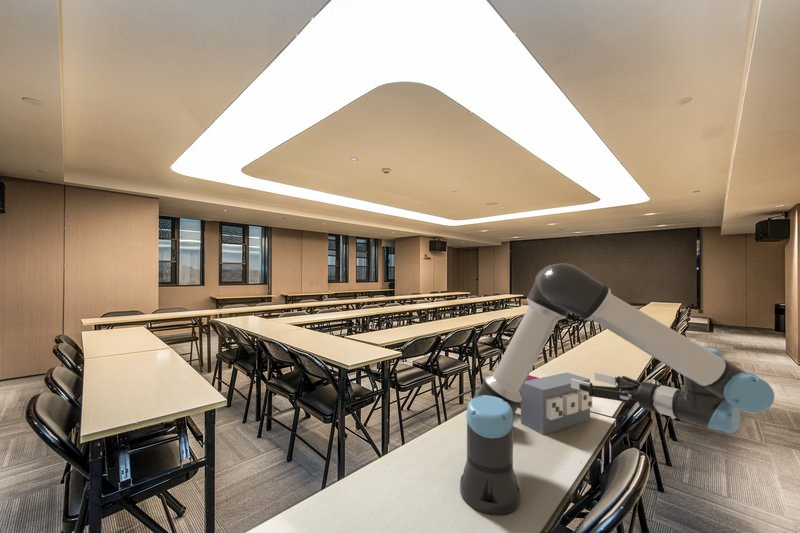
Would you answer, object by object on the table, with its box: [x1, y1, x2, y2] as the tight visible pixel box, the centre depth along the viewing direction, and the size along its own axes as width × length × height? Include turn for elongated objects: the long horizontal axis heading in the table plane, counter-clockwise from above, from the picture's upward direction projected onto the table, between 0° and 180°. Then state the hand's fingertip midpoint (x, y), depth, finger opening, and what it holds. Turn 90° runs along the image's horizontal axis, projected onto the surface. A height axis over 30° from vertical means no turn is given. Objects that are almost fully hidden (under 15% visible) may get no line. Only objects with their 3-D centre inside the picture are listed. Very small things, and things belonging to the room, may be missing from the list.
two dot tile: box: [577, 390, 593, 411], centre depth 127 cm, size 7×3×7 cm, turn 118°
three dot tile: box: [546, 396, 563, 420], centre depth 119 cm, size 7×3×7 cm, turn 118°
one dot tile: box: [562, 392, 578, 415], centre depth 123 cm, size 7×3×7 cm, turn 118°
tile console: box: [520, 372, 591, 436], centre depth 128 cm, size 28×10×16 cm, turn 118°
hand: (583, 379), depth 108 cm, fingers open, 13 cm apart
